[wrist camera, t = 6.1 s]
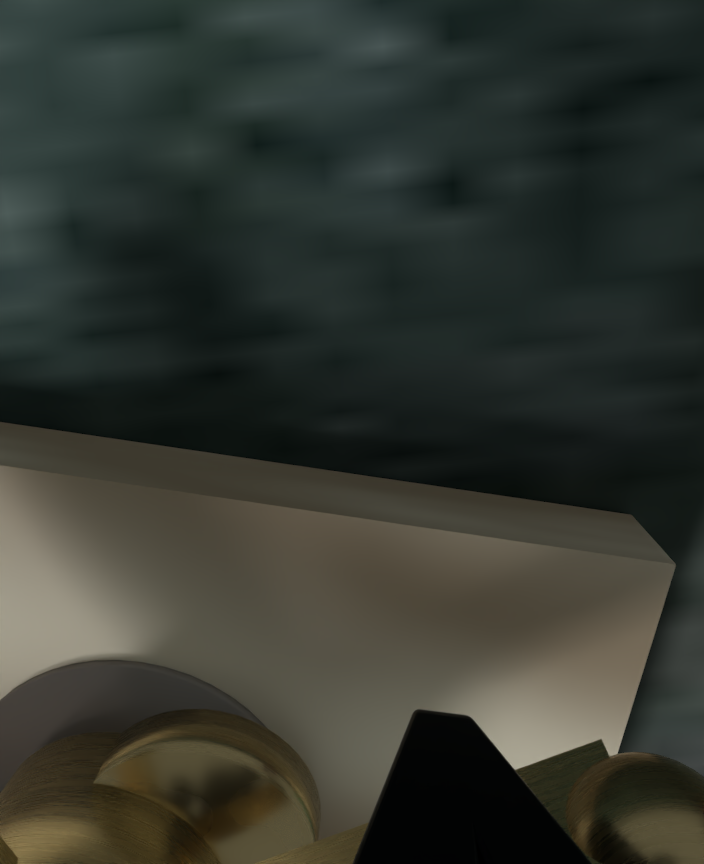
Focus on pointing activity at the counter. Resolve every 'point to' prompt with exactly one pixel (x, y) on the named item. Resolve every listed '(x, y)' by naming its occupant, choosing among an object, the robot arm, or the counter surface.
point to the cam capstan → (296, 800)
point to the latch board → (309, 607)
